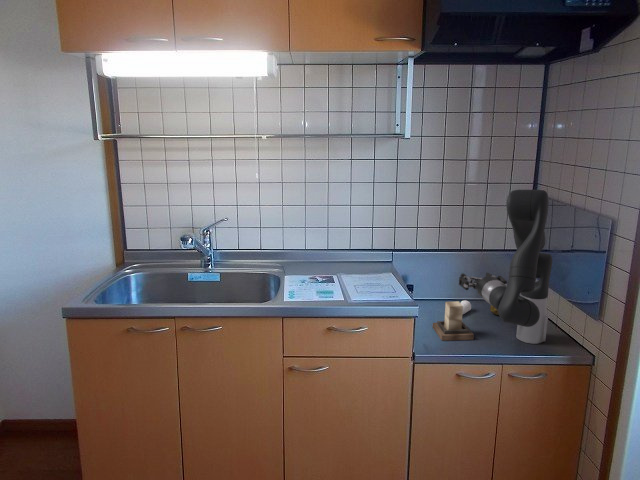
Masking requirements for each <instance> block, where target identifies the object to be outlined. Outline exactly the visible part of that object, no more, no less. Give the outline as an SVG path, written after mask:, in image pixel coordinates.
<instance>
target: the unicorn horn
mask: <svg viewBox="0 0 640 480" xmlns="http://www.w3.org/2000/svg"><path fill="white" fill-rule="evenodd" d="M460 304H461V305H462V306H463V313H462V316H463V315H464V314H467V313H468V312H469V311H471V309H472V304H471V302H470V301H468V300H466V299H465V300H462V301H461V302H460Z"/></svg>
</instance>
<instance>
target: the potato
mask: <svg viewBox="0 0 640 480" xmlns="http://www.w3.org/2000/svg"><path fill="white" fill-rule="evenodd" d="M489 311H490V312H491V313H492V314H493V315H496V316H499V312H498V310H497V309H495V308H494V307H493V306H492V305H490V306H489Z"/></svg>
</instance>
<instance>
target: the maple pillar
mask: <svg viewBox="0 0 640 480" xmlns="http://www.w3.org/2000/svg"><path fill="white" fill-rule="evenodd" d="M460 303H461V302H460V301H459V300H457V301H445V309H444V321H445V322H444V326H445V328H446V329H447V330H460V329H462V322H463V315H462V313H463V306H462V305H461V304H460Z"/></svg>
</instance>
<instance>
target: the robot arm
mask: <svg viewBox="0 0 640 480" xmlns="http://www.w3.org/2000/svg"><path fill="white" fill-rule="evenodd" d="M505 205H506V213H507V216H508V219H509V222H510V225H511V227H512V232H513V239H514V244H515V247H516V251H515V252H514V254H513V256H512V257H511V260H510V264H509V271H508V281H507V279H505V278H504V277H503V276H501V275H498V276H496V275H493V274H491V273H490V272H486V273H485V276H484V277H475V276H470V277H469V276H468V275H466V274H465V273H461V274H460V275H459V278H458V286H460V287H461V288H463V289H464V290H466V291H469V288H472V289H474V290H476V291H477V292H476V293H477V294H478V295H479V296H480V297H481V298H482V299H483V300H484V301H486V303H487V304H489V305H490V306H491V305H492V306H493V307H494V308H495V309H497V310H498V312H499V315H498V317H499V318H500V320H501V321H503V322H505V323H508V324H511V325H516V326H517V327H516V336H515V337H516V339H518V340H519V341H521V342H523V343H527V344H533V345H534V344H535V345H536V344H541V343H543V342H546V340H547V339H546V337H547V331H548V321H549V318H548V316H547V315H546V314H547V308H548V297H549V288H550V278H551V273H552V268H553V256H552V255H551V254H550V253H546V252H542V251H543V250H544V248H545V245H546V233H545V229H546V225H547V218H548V212H549V195H548V192H547V191H546V190H544V189H515V190H512V191H510V192H509V193H508V195H507V197H506V204H505ZM537 279H539V280H537Z"/></svg>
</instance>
